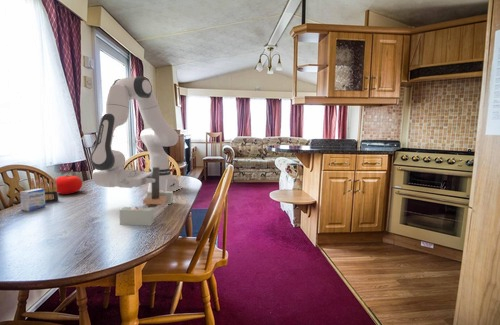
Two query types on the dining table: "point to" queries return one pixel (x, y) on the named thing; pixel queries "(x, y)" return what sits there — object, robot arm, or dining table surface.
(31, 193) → the medicine box
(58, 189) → the tomato
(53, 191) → the ammunition clip
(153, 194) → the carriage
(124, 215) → the track
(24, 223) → the dining table surface
